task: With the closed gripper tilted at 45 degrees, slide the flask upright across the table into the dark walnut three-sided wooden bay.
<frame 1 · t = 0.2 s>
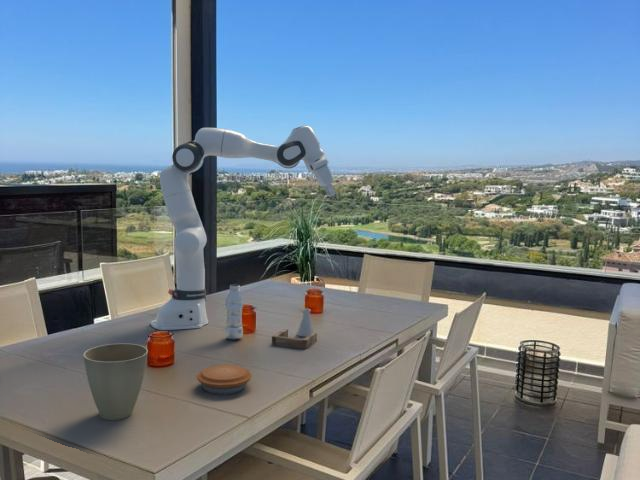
hand: (331, 195, 234), 53 cm above the table, tool tilted 25°, fingers open, 8 cm apart
pie: (224, 388, 165), on the table
walnut bay: (295, 342, 212), on the table
flask: (305, 335, 222), on the table
plant pot: (116, 415, 144), on the table
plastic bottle: (234, 339, 214), on the table
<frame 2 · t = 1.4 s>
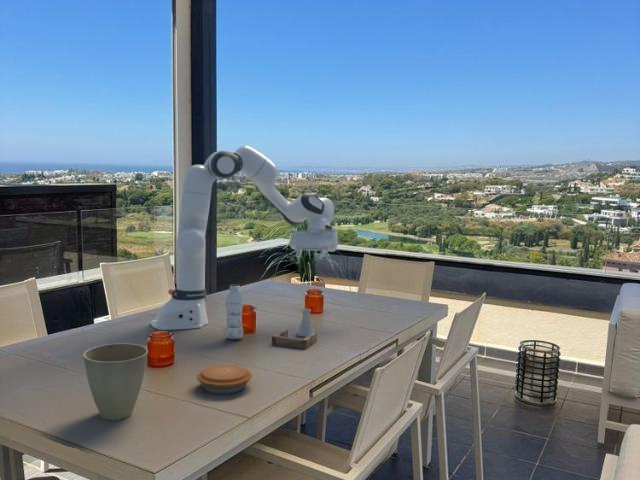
hand: (308, 257, 236), 28 cm above the table, tool tilted 45°, fingers open, 8 cm apart
nothing on the table moved.
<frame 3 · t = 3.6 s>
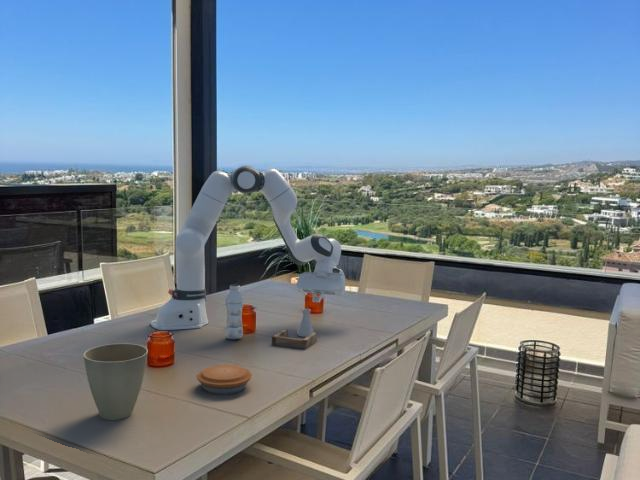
hand: (316, 301, 231), 11 cm above the table, tool tilted 45°, fingers closed
nothing on the table moved.
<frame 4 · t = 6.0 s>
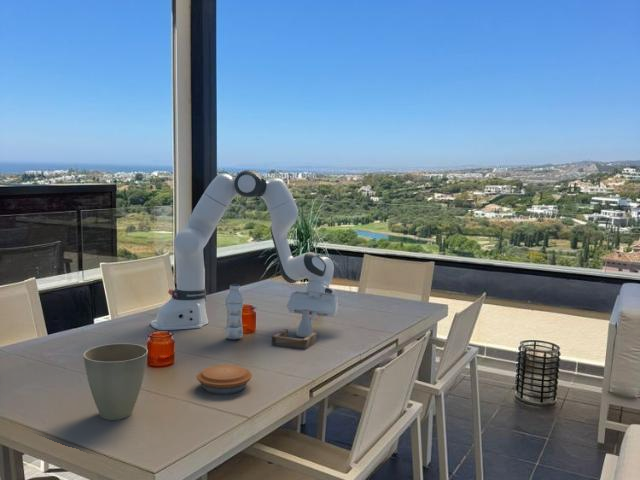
hand: (307, 323, 223), 4 cm above the table, tool tilted 45°, fingers closed, pressing on flask
flask: (305, 336, 221), on the table, touching gripper
everything else where it was.
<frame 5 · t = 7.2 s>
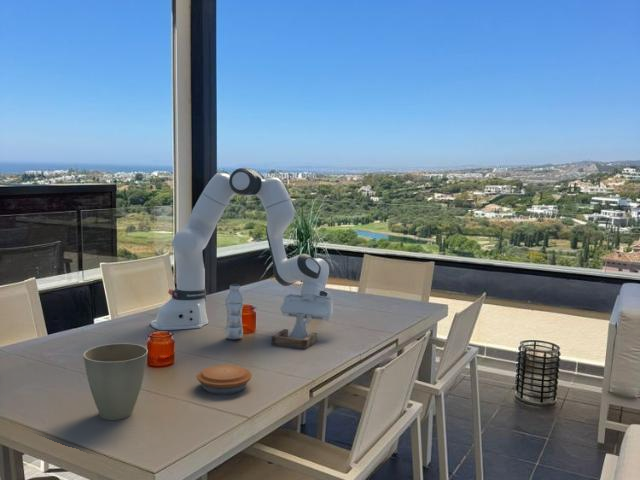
hand: (301, 326, 217), 4 cm above the table, tool tilted 45°, fingers closed, pressing on flask
flask: (299, 340, 215), on the table, touching gripper
everything else where it was.
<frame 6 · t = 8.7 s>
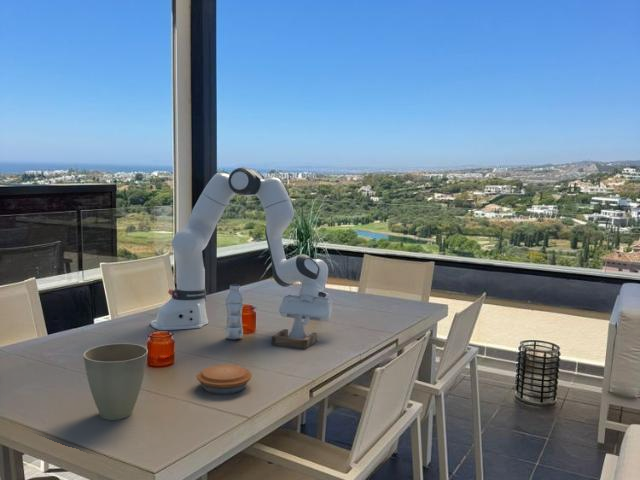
hand: (299, 327, 215), 4 cm above the table, tool tilted 45°, fingers closed
flask: (297, 341, 213), on the table
everything else where it was.
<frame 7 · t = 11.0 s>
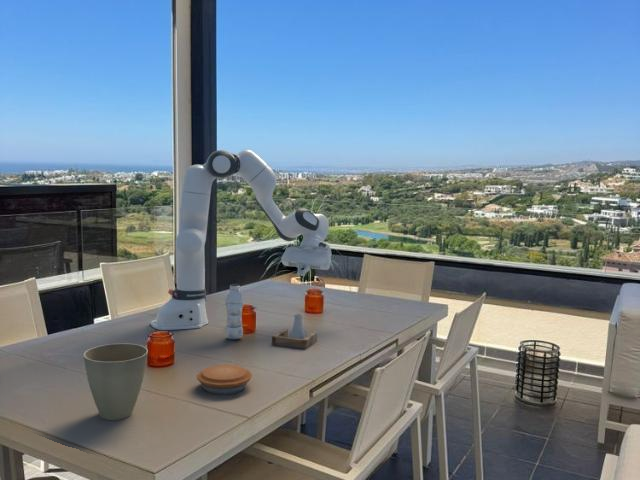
hand: (300, 274, 229), 22 cm above the table, tool tilted 45°, fingers closed
nothing on the table moved.
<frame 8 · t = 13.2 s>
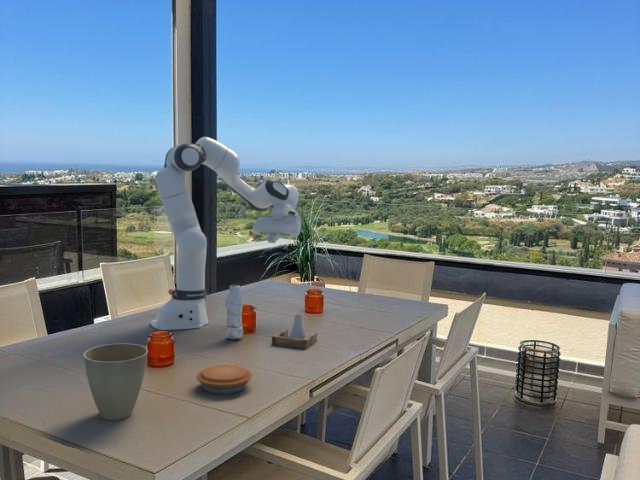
hand: (271, 242, 237), 33 cm above the table, tool tilted 45°, fingers closed
nothing on the table moved.
at the end: flask 1.7 cm from the walnut bay (horizontally); flask tilted 0°; flask moved 9.4 cm from its start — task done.
